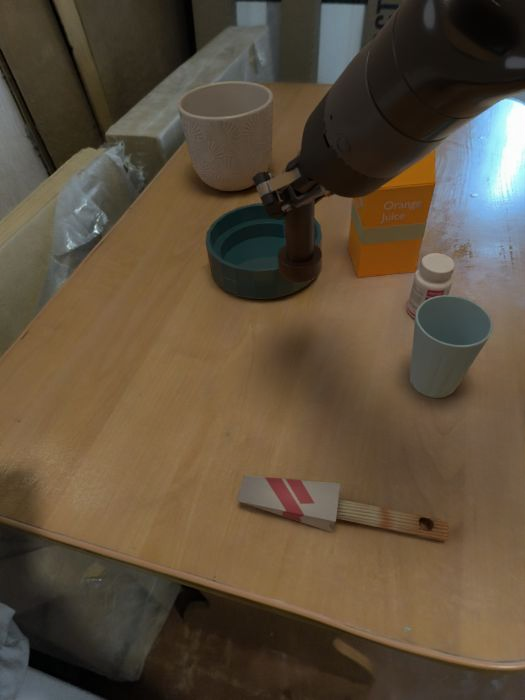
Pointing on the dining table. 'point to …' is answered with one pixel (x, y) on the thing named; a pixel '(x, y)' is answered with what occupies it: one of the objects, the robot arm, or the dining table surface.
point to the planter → (228, 132)
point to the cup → (446, 343)
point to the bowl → (251, 253)
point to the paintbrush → (329, 506)
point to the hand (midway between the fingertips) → (288, 204)
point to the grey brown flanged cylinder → (300, 246)
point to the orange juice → (392, 222)
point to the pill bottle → (431, 280)
